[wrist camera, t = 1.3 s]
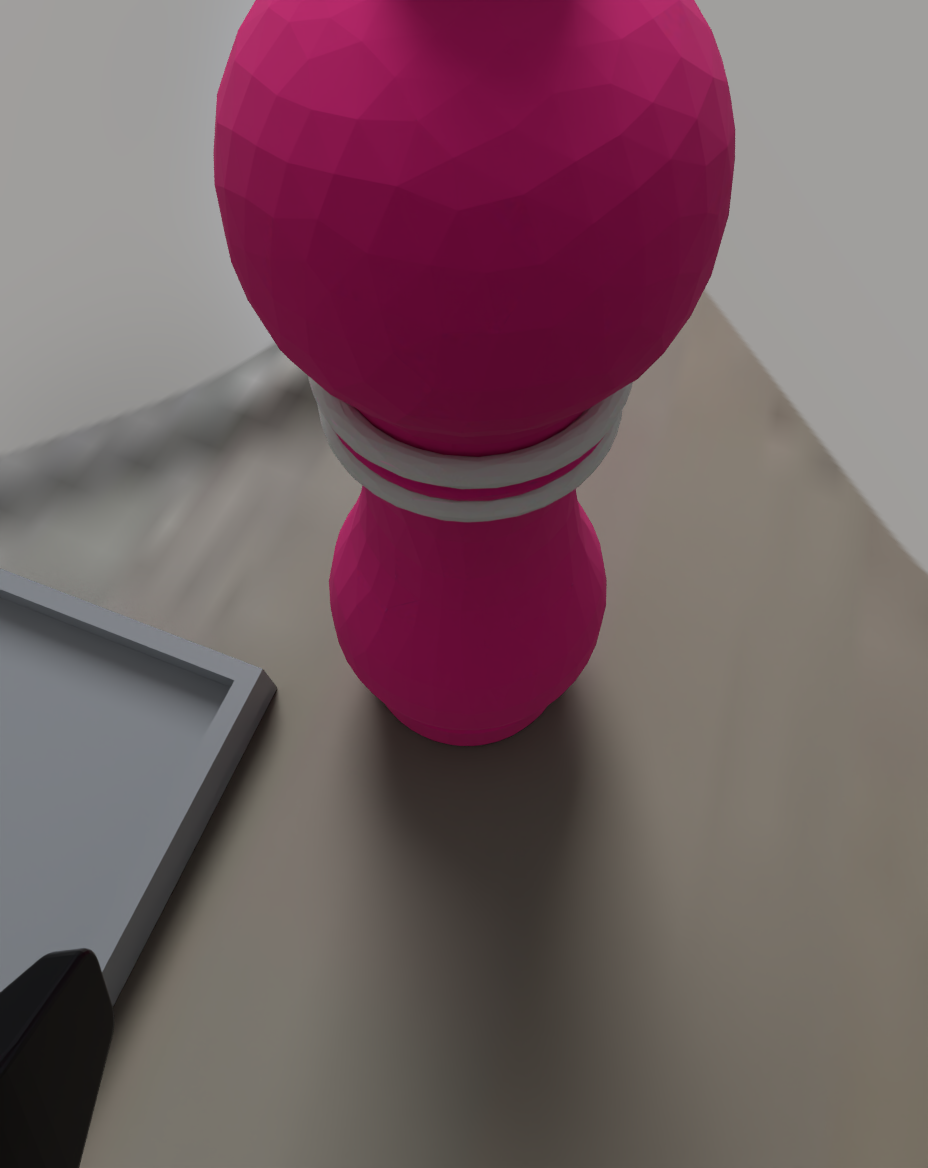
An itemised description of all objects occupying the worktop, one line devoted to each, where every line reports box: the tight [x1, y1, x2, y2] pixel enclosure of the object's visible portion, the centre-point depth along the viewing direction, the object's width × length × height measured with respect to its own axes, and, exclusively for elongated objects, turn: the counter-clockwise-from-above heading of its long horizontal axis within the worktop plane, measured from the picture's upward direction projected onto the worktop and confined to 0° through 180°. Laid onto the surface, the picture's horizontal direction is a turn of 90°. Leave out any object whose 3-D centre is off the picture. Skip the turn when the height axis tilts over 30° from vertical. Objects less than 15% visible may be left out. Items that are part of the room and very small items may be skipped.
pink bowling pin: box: [214, 0, 735, 746], centre depth 14 cm, size 7×7×20 cm
